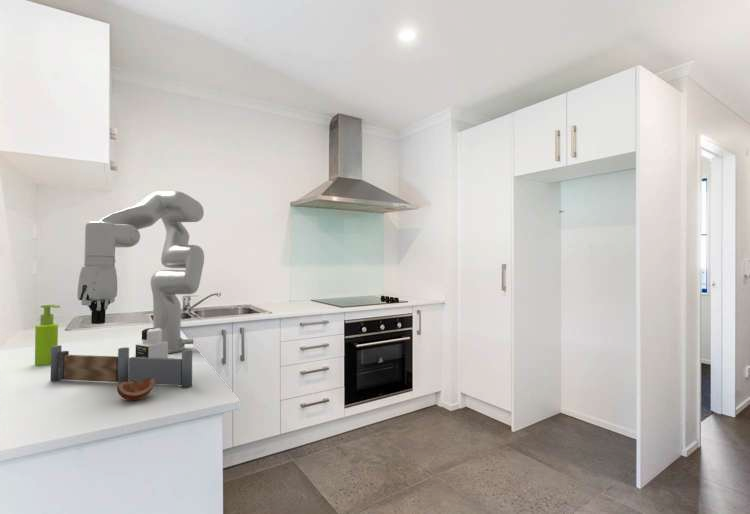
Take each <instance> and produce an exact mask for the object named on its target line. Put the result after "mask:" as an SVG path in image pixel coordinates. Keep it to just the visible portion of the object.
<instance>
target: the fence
mask: <svg viewBox="0 0 750 514" xmlns="http://www.w3.org/2000/svg"><path fill="white" fill-rule="evenodd" d="M62 346H63V345H61V344H58V345H57V346H51V364H50V381H49V382H51V383H53V382H60V381H61V380H58V352H61V351H62ZM117 351H118V352H117V356H118V382H117V384H118V383H120V382H128V381H137V382H139V381H141V380H143V379H149V378H155V385H164V386H166V385H167V386H181V388H182V389H189V388H192V387H193V349H184V350H182V351H181V358H171V357H169V358H147V357H136V356H132V357H130V347H120V348H118V349H117Z"/></svg>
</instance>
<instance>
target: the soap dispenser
mask: <svg viewBox="0 0 750 514" xmlns="http://www.w3.org/2000/svg"><path fill="white" fill-rule="evenodd" d="M60 307H61V305H59V304H45V305H40V308H43V314H41V315H40V321H39V323H40V324H37V325H35V327H34V328H35V332H34V333H35V335H34V336H35V337H34V340H35V341H34V366H36V367H37V366H39V367H40V366H51V346H57V345H59V343H58V340H59V335H58V334H59V324H58V323H54V314H53V313H51V308H54V309H57V308H60Z"/></svg>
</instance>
